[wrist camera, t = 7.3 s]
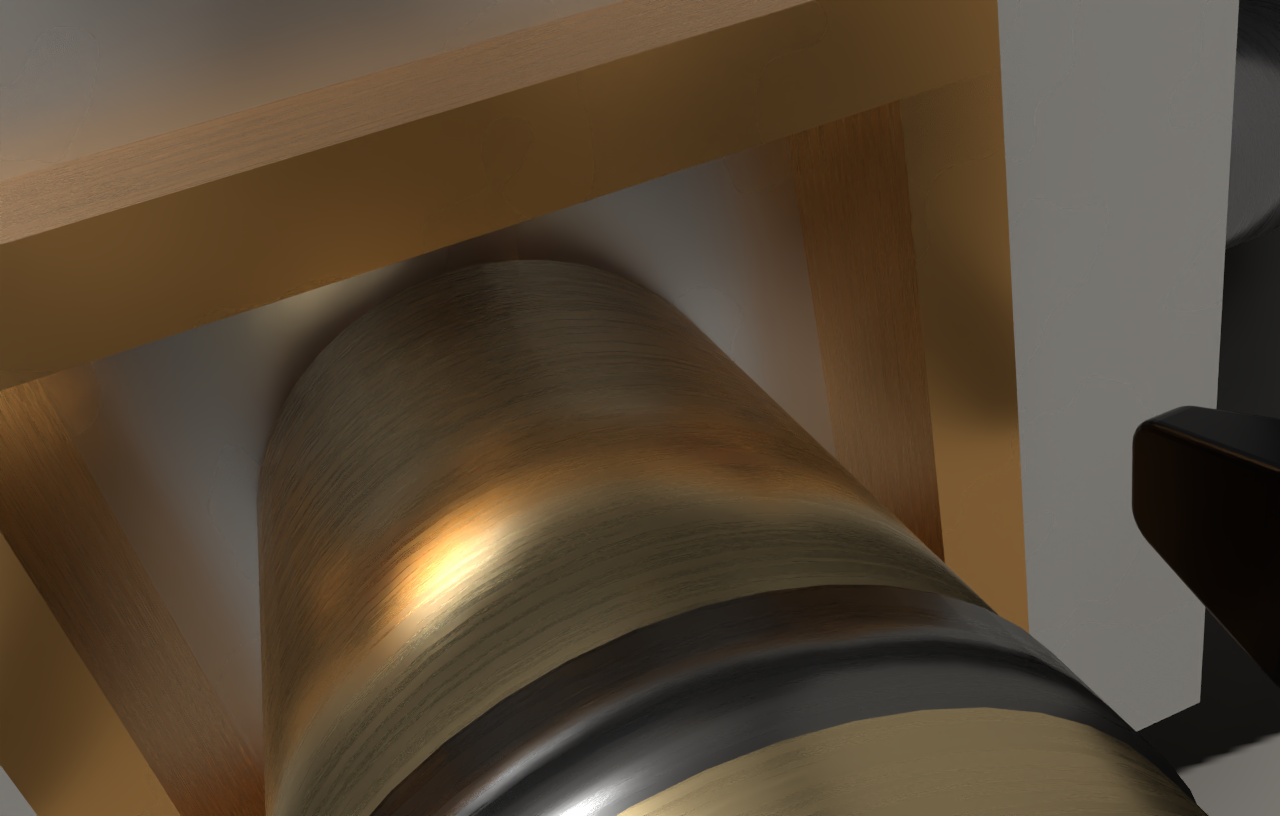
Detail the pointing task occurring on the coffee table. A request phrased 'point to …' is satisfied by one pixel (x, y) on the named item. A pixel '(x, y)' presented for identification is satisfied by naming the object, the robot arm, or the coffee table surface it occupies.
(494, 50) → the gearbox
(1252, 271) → the coffee table surface
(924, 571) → the brass can
